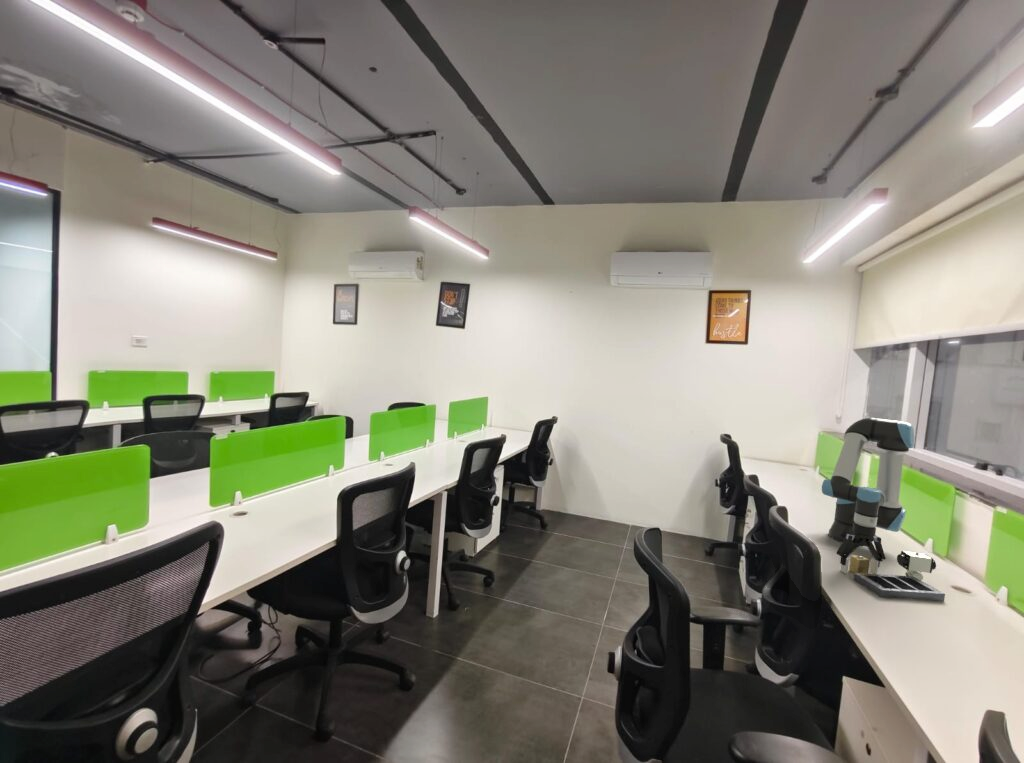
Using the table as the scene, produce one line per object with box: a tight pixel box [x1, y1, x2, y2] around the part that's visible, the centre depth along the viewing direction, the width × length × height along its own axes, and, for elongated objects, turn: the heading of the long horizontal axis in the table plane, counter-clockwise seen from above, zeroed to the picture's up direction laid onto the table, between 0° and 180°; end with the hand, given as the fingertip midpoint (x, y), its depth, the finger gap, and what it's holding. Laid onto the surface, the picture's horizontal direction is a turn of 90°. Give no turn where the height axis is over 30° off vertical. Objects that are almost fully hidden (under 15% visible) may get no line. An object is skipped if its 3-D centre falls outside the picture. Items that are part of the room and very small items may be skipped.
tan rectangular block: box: [848, 554, 871, 574], centre depth 186 cm, size 4×4×8 cm
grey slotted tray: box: [853, 573, 946, 602], centre depth 174 cm, size 13×25×3 cm, turn 91°
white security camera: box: [896, 550, 937, 581], centre depth 184 cm, size 6×12×12 cm, turn 78°
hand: (858, 573), depth 186 cm, fingers open, 12 cm apart
